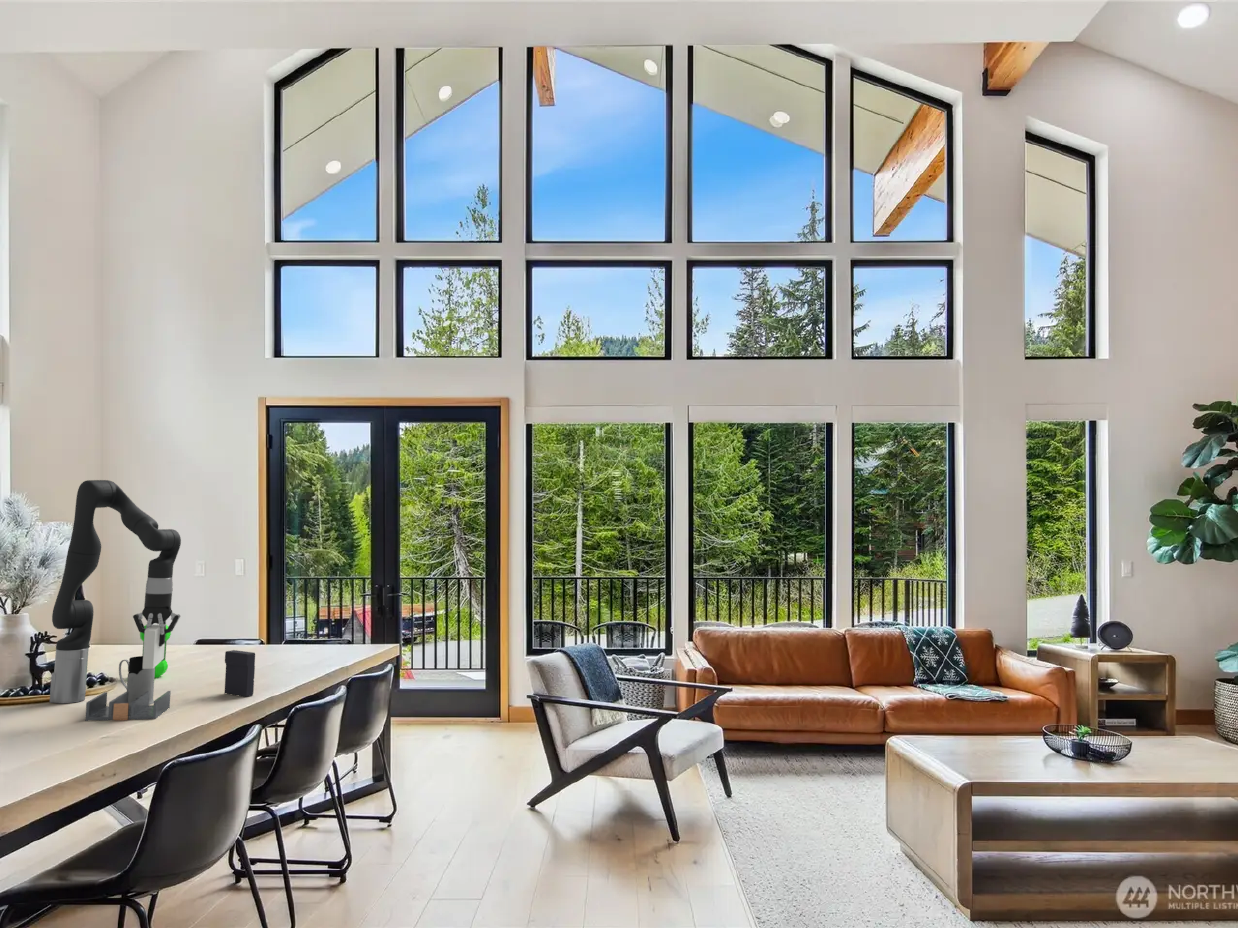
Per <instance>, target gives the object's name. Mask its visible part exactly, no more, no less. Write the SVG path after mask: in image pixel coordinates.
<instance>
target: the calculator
mask: <svg viewBox="0 0 1238 928" xmlns="http://www.w3.org/2000/svg"><path fill="white" fill-rule="evenodd" d="M224 663H225V677H224V694H225V693H227V694H226V695H230V694H232V695H231V696H236V695H239V696H238V697H242V696H245V697H244V698H247V696H248V697H252V696H253V695H254V693H255V692H254V689H255V688H254V687H255V671H256V666H255V664H256V653H255V652H252V651H243V650H238V649H236V650H235V649H233V650H226V651H225V652H224Z"/></svg>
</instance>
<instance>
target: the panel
mask: <svg viewBox="0 0 1238 928" xmlns="http://www.w3.org/2000/svg"><path fill="white" fill-rule="evenodd" d="M159 639H160V627H159V624H157V623H154V624H153V625H152V626H151V627H149V628H147V629H146V630H145V634H144V651H143V650H142V654H143V669H153V668H154V667H155V666H157V665H158V664H159V663H160V662H161V661H162V660H163V659H164V647H165V643H164V644H163V645H162V646H159Z"/></svg>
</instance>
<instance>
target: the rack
mask: <svg viewBox="0 0 1238 928" xmlns="http://www.w3.org/2000/svg"><path fill="white" fill-rule="evenodd" d="M128 694H129V692H127V691H125V692H123V693H122V694H120V695H118V696H117V697H115V698H113V699H111V700H110V701H109V702H108V706H107V701H108V700H107V699H108V692H107V691H106V692H105V691H104V692H102V693H101V694H99V695H97V696H96V697H94V698H92V699H90V700H88V701H87V702H86V704H85V705H86V706H85V717H84V718H85V722H89V721H88V720H99V721H113V720H115V721H130V720H131V719H135V720H156V719H157V718H158V716H159V717H160V716H161V715H162V713H163V712H164V713H165V712H167V711H168V710H169V709H170V707H171V706H170V705H171V694H172V693H171V690H167V691H166V692H164V693H163V694H162V695H160V696H159V697H157V698H156V699H154V703H153V704H150V705H149V696H150V691H147V692H145V693H144V694H142V695H141V696H139V697H138V698H136V699H135V700H133V701H132V704H131V706H129V703H128ZM168 708H169V709H168ZM167 709H168V710H167ZM164 713H163V714H164ZM131 721H132V720H131Z"/></svg>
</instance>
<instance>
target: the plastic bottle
mask: <svg viewBox="0 0 1238 928" xmlns="http://www.w3.org/2000/svg"><path fill="white" fill-rule="evenodd" d="M146 625H147V623H146V624H145V625H144V627H145V629H146ZM168 627H169V626H168V624H166V629H168ZM171 635H172V631H171V632H170V633H166V636H165V647H164V659H163V660H162V661H161V662H160V663H159V664H158V665H157V666H155V677H154V679H156V678H161V677H162V676H163V675H164V674H165V673H166V672H167V671H168V666H169V664H168V662H167V660H166V659H167V658H166V657H167V656H166V653H167V641H168V640H170V637H171ZM139 639H140V640H141V641H142V643H143V644H142V652H143V651H144V633H142V632H139ZM141 656H143V653H142V655H141Z"/></svg>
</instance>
